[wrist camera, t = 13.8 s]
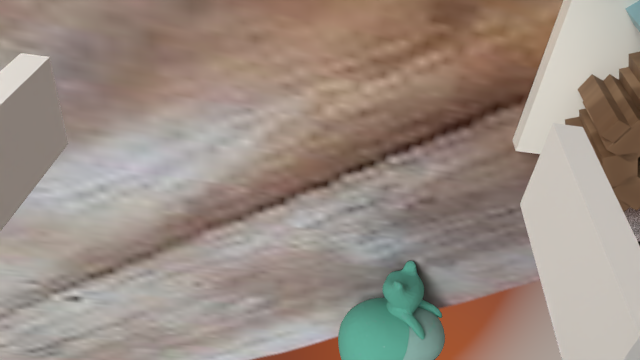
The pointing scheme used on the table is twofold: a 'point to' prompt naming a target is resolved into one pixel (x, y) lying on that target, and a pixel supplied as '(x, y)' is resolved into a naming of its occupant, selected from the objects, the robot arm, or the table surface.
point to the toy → (393, 323)
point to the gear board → (575, 64)
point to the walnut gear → (615, 128)
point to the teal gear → (634, 14)
